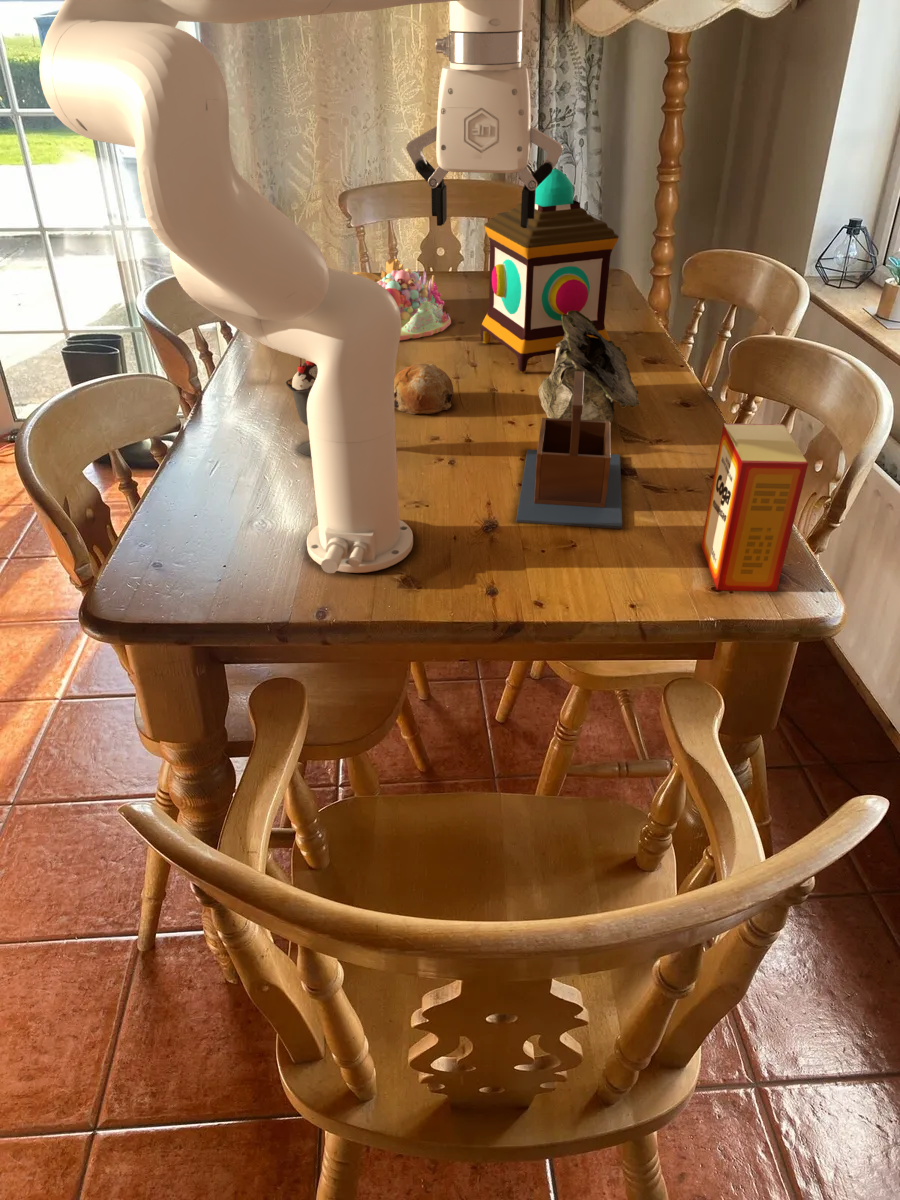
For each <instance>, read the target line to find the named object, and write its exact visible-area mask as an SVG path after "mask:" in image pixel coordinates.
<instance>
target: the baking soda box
mask: <svg viewBox="0 0 900 1200" xmlns="http://www.w3.org/2000/svg"><path fill="white" fill-rule="evenodd" d="M808 465H809V462H808V461H807V459H806V458H805V456H804V455H803V453H802V451H801V450H800V448H799V447H798V445H797V443H796V441H795V440H794V439H793V437H792V435H791V434H790V432H789V431H788V429H787V427H786V425H785V424H784V423H783V424H782V423H781V424H780V423H722V429H721V435H720V440H719V445H718V451H717V456H716V462H715V466H714V467H715V468H714V472H713V478H712V479H713V480H712V482H711V488H710V494H709V500H708V504H707V505H708V506H707V511H706V516H705V523H704V527H703V533H702V537H701V538H702V539H701V544H700V546H701V549H702V552H703V555H704V557H705V560H706V564H707V566H708V569H709V572H710V574H711V577H712V580H713V584H714V586H715V589H716V591H734V592H737V591H738V592H777V591H778V587H779V584H780V579H781V577H782V576H781V575H782V572H783V567H784V563H785V559H786V555H787V552H788V547H789V544H790V539H791V535H792V530H793V526H794V523H795V519H796V514H797V512H798V507H799V502H800V498H801V494H802V490H803V486H804V483H805V478H806V474H807V470H808Z"/></svg>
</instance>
